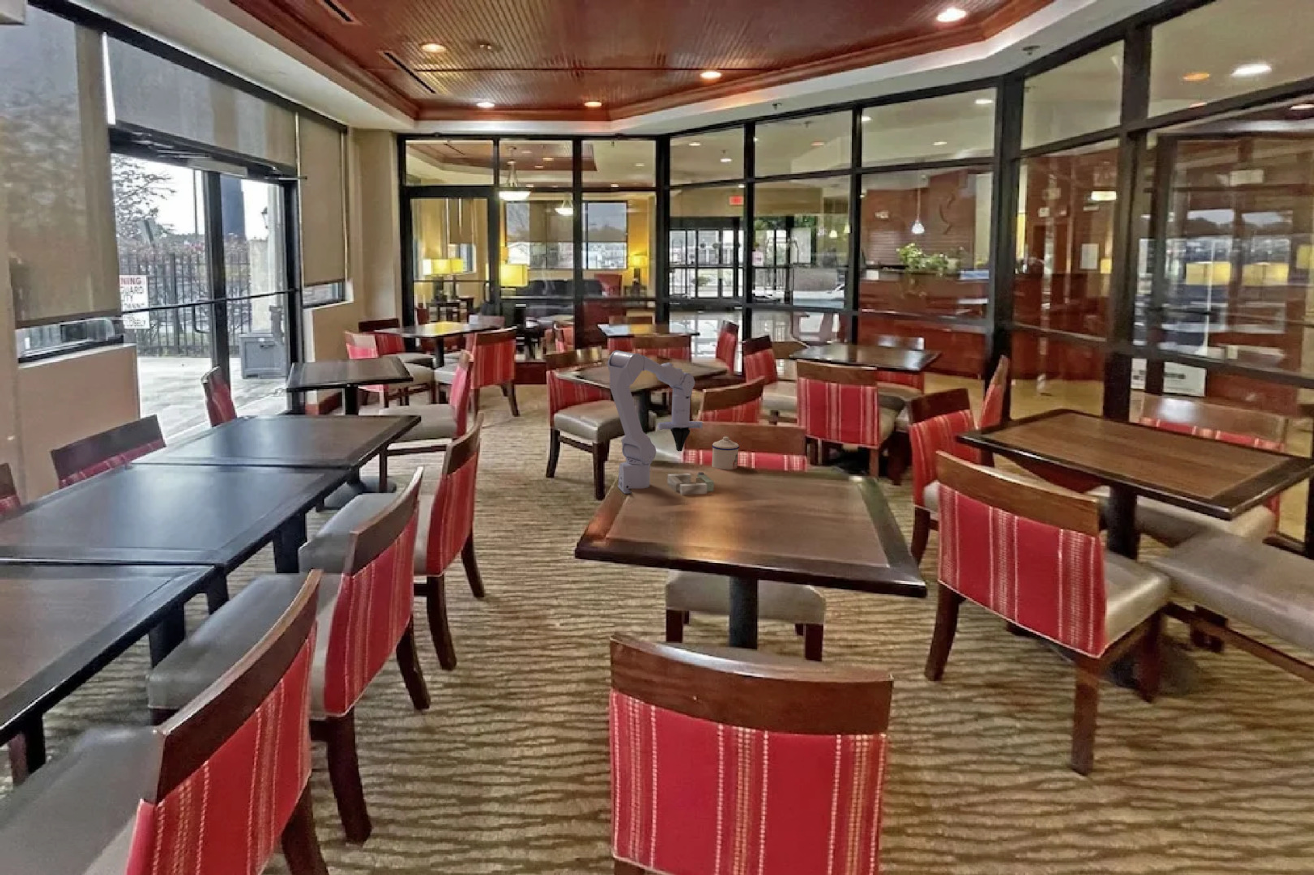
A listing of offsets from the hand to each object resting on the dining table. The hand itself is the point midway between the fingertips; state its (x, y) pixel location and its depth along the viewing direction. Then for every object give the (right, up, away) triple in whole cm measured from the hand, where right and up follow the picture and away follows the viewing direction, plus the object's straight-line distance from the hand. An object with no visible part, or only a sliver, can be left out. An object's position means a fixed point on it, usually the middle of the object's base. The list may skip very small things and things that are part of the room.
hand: (679, 450), depth 290 cm
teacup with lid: (+16, -7, +18) cm, 25 cm away
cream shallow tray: (+4, -13, -11) cm, 17 cm away
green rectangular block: (+8, -11, -10) cm, 17 cm away
